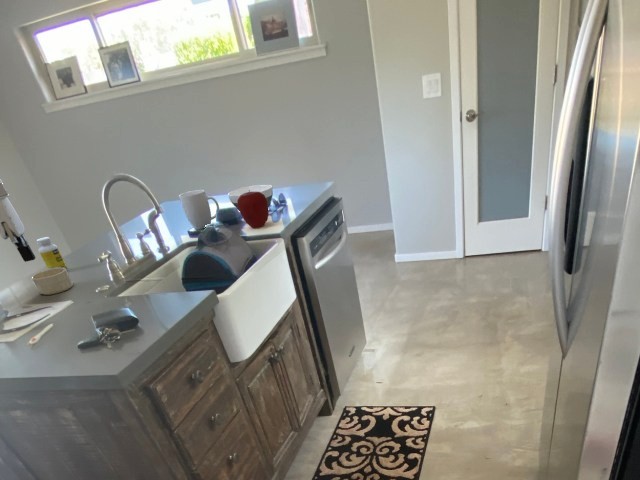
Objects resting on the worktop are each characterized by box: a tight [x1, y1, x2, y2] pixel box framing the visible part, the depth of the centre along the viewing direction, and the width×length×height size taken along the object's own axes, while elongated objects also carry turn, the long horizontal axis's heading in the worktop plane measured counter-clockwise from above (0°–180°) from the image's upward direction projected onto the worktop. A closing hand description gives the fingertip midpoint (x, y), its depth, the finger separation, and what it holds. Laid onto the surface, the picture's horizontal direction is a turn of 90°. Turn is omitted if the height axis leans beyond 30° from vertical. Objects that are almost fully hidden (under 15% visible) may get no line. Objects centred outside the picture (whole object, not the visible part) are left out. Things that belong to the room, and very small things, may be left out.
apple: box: [237, 191, 269, 229], centre depth 207 cm, size 12×12×13 cm
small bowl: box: [30, 268, 74, 296], centre depth 177 cm, size 11×11×6 cm
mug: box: [178, 189, 220, 230], centre depth 220 cm, size 15×11×13 cm
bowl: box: [227, 184, 274, 212], centre depth 226 cm, size 20×20×10 cm
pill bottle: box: [35, 236, 69, 271], centre depth 193 cm, size 6×6×12 cm
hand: (30, 260), depth 162 cm, fingers closed
